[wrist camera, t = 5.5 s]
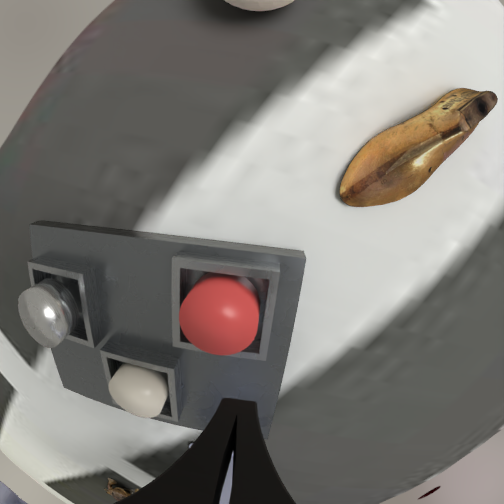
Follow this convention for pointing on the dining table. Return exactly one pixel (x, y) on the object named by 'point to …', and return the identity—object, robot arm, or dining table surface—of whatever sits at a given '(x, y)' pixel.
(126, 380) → the ivory button
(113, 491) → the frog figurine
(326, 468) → the dining table surface
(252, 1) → the egg
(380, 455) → the dining table surface
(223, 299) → the red button
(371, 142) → the shoe last
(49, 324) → the steel button
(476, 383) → the dining table surface
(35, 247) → the slate panel
